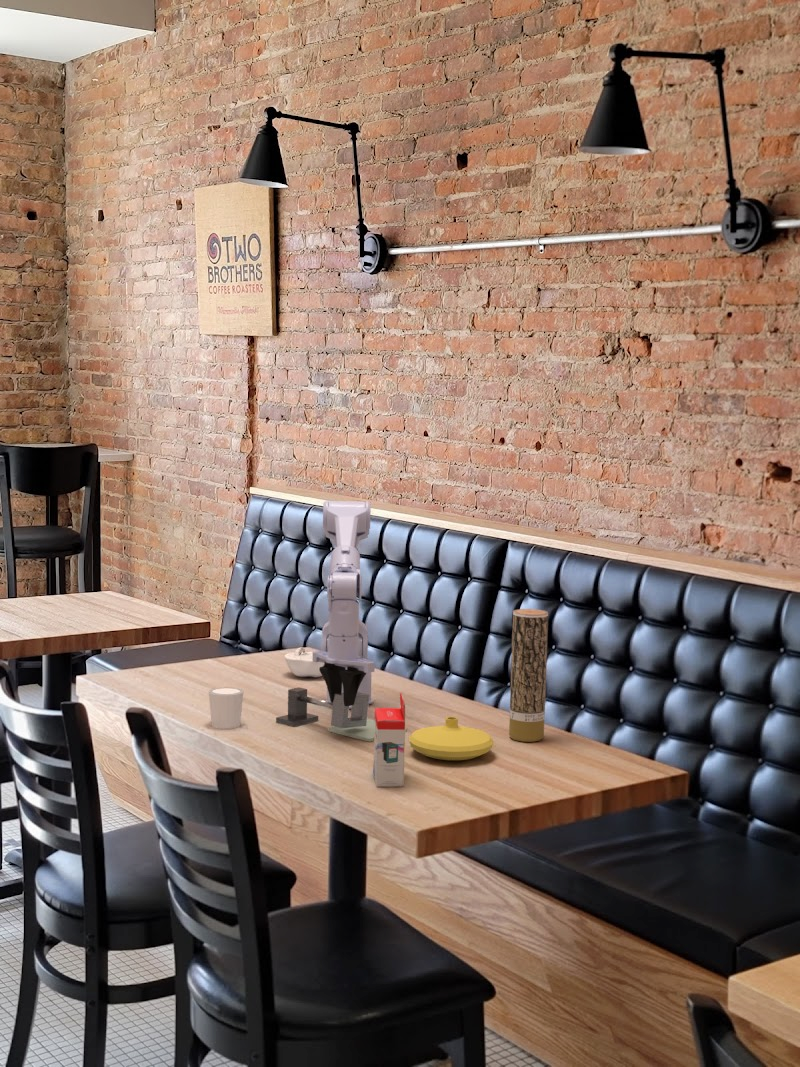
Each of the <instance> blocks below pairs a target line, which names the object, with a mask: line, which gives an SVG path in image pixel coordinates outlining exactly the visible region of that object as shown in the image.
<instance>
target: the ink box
mask: <svg viewBox="0 0 800 1067" xmlns="http://www.w3.org/2000/svg"><path fill="white" fill-rule="evenodd" d="M399 702H400V704H399V705H400V708H398V707H378V708H377V707H376V708H375V709H374V720H375V734H374V741H373V744H374V745H373V767H372V768H373V770H372V772H373V778H374V781H375V786H376V788H377V787H378V788H380V787H384V788H386V787H387V788H388V787H389V788H390V787H391V788H397V787H400V788H401V787H404V786H405V746H406V741H405V740H406V732H405V728H406V704H405V703H406V702H405V700H404V697H403V694H402V692H399Z"/></svg>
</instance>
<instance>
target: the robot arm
mask: <svg viewBox="0 0 800 1067" xmlns="http://www.w3.org/2000/svg"><path fill="white" fill-rule="evenodd" d="M371 507H372V506H371V502H369V500H366V501H358V500H357V501H353V500H351V501H348V500H347V501H346V500H329V499H326V500H325V501H324V502H323V507H322V528H323V534H324V535H325V538H328V539H330V540H332V541H333V542H334V545H335V548H334V549H333V550H332V552H331V554H330V567H329V568H330V569H329V574H328V575H327V579H326V580H327V584H326V597H327V604H328V612H329V613H328V621H327V622H325V623H324V625H323V627H322V629H321V631H322V634H321V648H320V649H321V650H315V651H312V652H313V662H322V663H324V666H323V667H320V670H319V671H320V672H321V674H322V676H321V677H323V679H324V683H325V684H326V699H324V701H329V702H331V703H333V696H334V694H336V693H343V695H344V706H349V710H351V709H352V705H354V702H355V698H356V695H357V692H360V693H365V694H369V702H368V705H371V704H374V702H375V700H372V673H374V672H375V669H376V668H375V666H376V663H375V661H373V660H369V659H368V656H369V654H368V652H369V651H368V650H369V649H368V648H369V647H368V646H369V645H368V644H369V643H368V642H369V637H368V636H369V635H368V627H367V625H366V624H365V623H364V622H362V621H361V620H360V615H359V614H360V603H361V600H362V587H363V586H362V585H363V584H362V583H363V581H362V580H363V578H362V573H361V568H360V567H361V565H360V564H361V555H360V552H359V551H358V549H357V548H358V546H359V543H360V541H362V540H365V539H368V538H369V535H370V529H371V512H372V511H371V509H372V508H371ZM357 597H358V599H359V600H358V599H357Z"/></svg>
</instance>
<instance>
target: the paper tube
mask: <svg viewBox="0 0 800 1067" xmlns="http://www.w3.org/2000/svg"><path fill="white" fill-rule="evenodd" d="M511 630H512V632H511V633H512V634H511V662H510V664H511V665H510V690H509V692H510V695H509V726H508V727H509V729H508V735H509V737H510V738H511V739H512V740H514V741H518V742H522V743H523V742H525V743H533V742H539V741H542V740H543V738H544V735H545V716H546V693H547V692H546V691H547V690H546V688H547V667H548V666H547V663H548V662H547V660H548V658H547V657H548V636H549V635H548V634H549V633H548V631H549V612H548V611H546V610H544V609H543V610H542V609H537V608H519V609H518V608H517V609H514V610H513V611H512V629H511Z"/></svg>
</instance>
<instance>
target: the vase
mask: <svg viewBox="0 0 800 1067" xmlns="http://www.w3.org/2000/svg"><path fill="white" fill-rule="evenodd" d="M458 720H459V719H458V717H455V716H447V717H445V722H444V724H445V725H434V726H427V727H426V726H425V727H423V728H418V729H417V730H415V731H413V732H412V733H411V735H410V736H409V737H408V740H409V744H410V747H411V748H412V749H413V750H415V751H416V752H418V753H419V754H421V755H423V756H426V757H427V758H428V757H429V758H432V759H437V760H443V761H465V760H471V759H476V758H478V757H480V756H482V755H485V754H487V753H488V752H490V751H491V750H492V747H493V745H494V742H495V741H494V739H493V738H492V736H491V735H490V733H488V732H486V731H483V730H482V729H477V728H474V727H467V726H461V725H459V721H458Z"/></svg>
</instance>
